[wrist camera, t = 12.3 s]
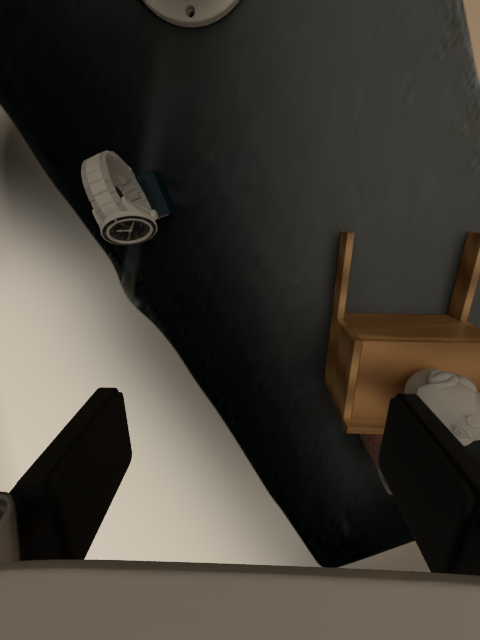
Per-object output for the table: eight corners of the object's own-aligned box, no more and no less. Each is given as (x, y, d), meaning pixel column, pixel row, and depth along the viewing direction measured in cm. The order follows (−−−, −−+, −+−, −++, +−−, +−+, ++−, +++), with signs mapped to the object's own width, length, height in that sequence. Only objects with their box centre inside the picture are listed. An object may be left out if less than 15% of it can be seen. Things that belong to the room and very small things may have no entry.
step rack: (341, 231, 35) (376, 238, 25) (474, 232, 35) (564, 239, 25) (324, 381, 42) (346, 433, 32) (435, 383, 41) (493, 437, 31)
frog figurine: (425, 418, 33) (469, 470, 26) (376, 386, 32) (409, 432, 25) (469, 378, 31) (527, 423, 24) (418, 342, 30) (466, 379, 23)
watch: (141, 244, 36) (98, 258, 26) (109, 176, 34) (47, 160, 24) (183, 228, 36) (156, 234, 25) (154, 156, 33) (110, 131, 23)
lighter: (386, 448, 45) (422, 510, 36) (364, 453, 46) (393, 516, 36) (378, 405, 43) (414, 459, 33) (354, 410, 43) (383, 465, 34)
